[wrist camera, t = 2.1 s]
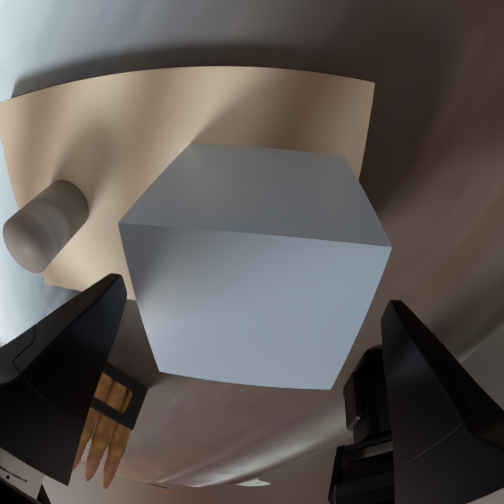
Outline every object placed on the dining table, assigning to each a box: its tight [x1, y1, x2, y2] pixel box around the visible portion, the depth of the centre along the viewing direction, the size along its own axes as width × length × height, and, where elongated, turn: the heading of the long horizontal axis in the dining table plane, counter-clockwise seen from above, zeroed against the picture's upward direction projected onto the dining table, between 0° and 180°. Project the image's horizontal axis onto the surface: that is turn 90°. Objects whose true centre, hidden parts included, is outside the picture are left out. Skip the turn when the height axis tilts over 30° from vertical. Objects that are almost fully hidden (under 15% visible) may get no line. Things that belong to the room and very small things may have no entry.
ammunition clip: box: [72, 362, 148, 489], centre depth 21 cm, size 11×2×12 cm, turn 41°
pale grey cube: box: [118, 144, 392, 389], centre depth 11 cm, size 6×6×6 cm
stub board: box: [0, 66, 375, 300], centre depth 13 cm, size 19×13×5 cm
